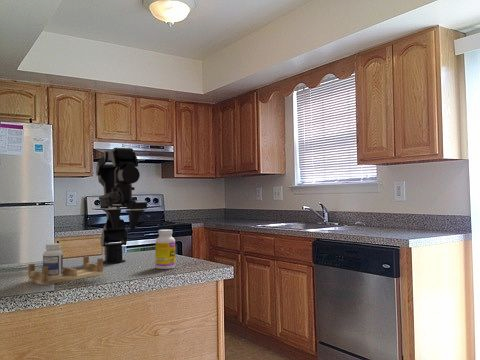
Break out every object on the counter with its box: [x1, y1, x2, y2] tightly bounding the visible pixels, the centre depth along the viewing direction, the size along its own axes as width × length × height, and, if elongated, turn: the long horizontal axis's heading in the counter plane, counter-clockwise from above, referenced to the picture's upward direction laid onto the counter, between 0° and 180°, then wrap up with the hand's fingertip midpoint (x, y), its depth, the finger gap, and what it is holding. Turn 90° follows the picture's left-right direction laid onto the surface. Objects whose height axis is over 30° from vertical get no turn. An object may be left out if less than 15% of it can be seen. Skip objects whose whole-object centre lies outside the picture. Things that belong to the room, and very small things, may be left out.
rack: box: [28, 255, 104, 286], centre depth 130 cm, size 9×19×5 cm, turn 142°
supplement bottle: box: [155, 229, 176, 270], centre depth 145 cm, size 7×7×13 cm
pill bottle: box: [42, 242, 64, 278], centre depth 126 cm, size 5×5×10 cm
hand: (123, 230), depth 145 cm, fingers open, 9 cm apart
